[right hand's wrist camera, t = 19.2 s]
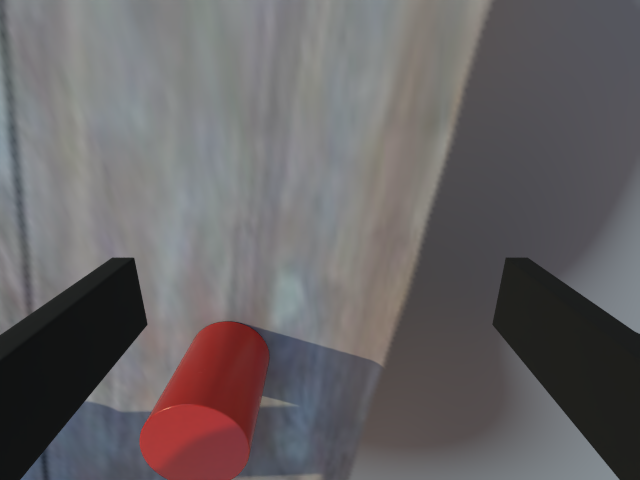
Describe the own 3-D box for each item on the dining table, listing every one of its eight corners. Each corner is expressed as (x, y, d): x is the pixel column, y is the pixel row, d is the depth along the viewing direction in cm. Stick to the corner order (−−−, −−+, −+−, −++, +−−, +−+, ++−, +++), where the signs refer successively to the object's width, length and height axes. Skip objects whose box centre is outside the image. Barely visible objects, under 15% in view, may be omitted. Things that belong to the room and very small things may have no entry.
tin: (198, 388, 33) (151, 490, 24) (184, 323, 31) (127, 407, 22) (273, 385, 33) (255, 485, 24) (265, 319, 31) (242, 402, 22)
